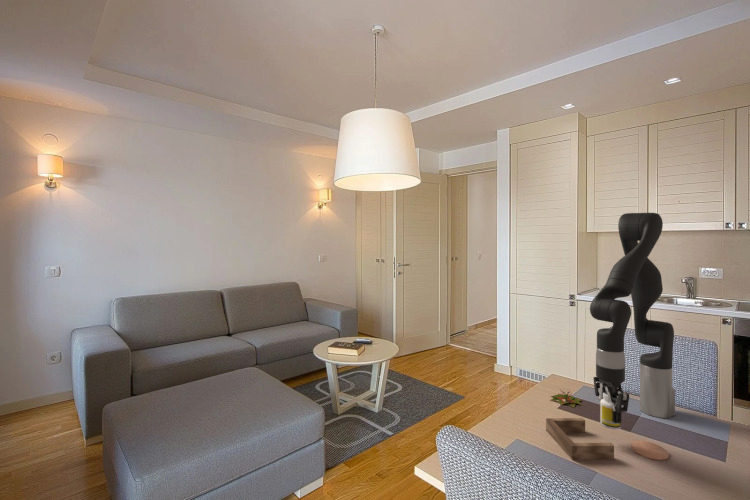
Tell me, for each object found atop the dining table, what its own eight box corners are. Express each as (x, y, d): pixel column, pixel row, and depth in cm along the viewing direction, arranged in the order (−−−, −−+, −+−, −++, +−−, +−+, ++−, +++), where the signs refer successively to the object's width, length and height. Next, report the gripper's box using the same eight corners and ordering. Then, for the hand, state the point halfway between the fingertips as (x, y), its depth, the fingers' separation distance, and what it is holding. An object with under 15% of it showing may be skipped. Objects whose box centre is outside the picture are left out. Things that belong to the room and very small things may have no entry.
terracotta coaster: (653, 442, 112) (653, 440, 112) (677, 460, 103) (677, 458, 103) (623, 442, 112) (623, 440, 112) (645, 460, 103) (645, 458, 103)
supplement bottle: (624, 430, 108) (624, 398, 108) (604, 429, 110) (604, 397, 109) (616, 421, 114) (616, 391, 113) (597, 420, 115) (597, 390, 115)
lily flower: (577, 412, 133) (577, 399, 133) (544, 401, 142) (544, 390, 142) (588, 401, 141) (588, 390, 141) (556, 392, 150) (556, 381, 150)
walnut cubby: (582, 430, 120) (582, 418, 119) (614, 459, 104) (614, 445, 103) (546, 430, 120) (546, 418, 120) (571, 459, 104) (571, 445, 104)
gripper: (639, 372, 104) (639, 429, 104) (607, 355, 118) (608, 406, 119) (612, 372, 104) (613, 430, 105) (584, 356, 118) (585, 406, 119)
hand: (610, 417), depth 112 cm, fingers closed on supplement bottle, 5 cm apart
